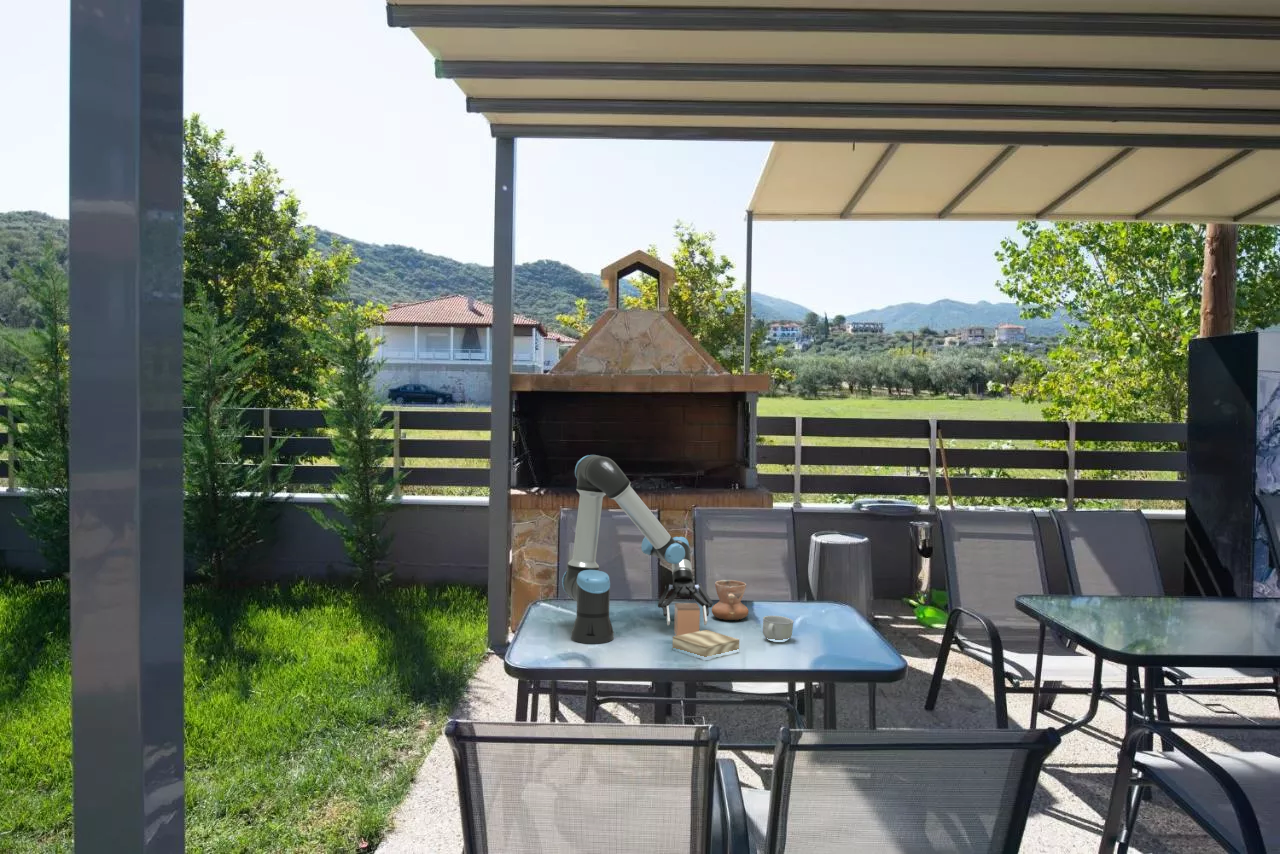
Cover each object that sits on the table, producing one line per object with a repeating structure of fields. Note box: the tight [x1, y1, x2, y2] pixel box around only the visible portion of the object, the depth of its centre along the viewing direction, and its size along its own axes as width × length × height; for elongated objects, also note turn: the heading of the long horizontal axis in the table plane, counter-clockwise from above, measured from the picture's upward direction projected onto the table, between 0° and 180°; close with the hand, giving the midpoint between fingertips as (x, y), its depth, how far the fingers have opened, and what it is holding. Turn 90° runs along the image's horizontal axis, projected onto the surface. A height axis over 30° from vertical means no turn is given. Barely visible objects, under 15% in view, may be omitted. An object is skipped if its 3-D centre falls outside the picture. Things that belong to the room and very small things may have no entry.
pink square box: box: [673, 602, 701, 636], centre depth 318 cm, size 8×8×11 cm
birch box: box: [672, 629, 740, 657], centre depth 298 cm, size 16×16×5 cm
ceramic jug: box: [711, 579, 749, 621], centre depth 346 cm, size 18×14×14 cm
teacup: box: [762, 615, 794, 640], centre depth 312 cm, size 14×11×8 cm
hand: (687, 623), depth 317 cm, fingers open, 13 cm apart
